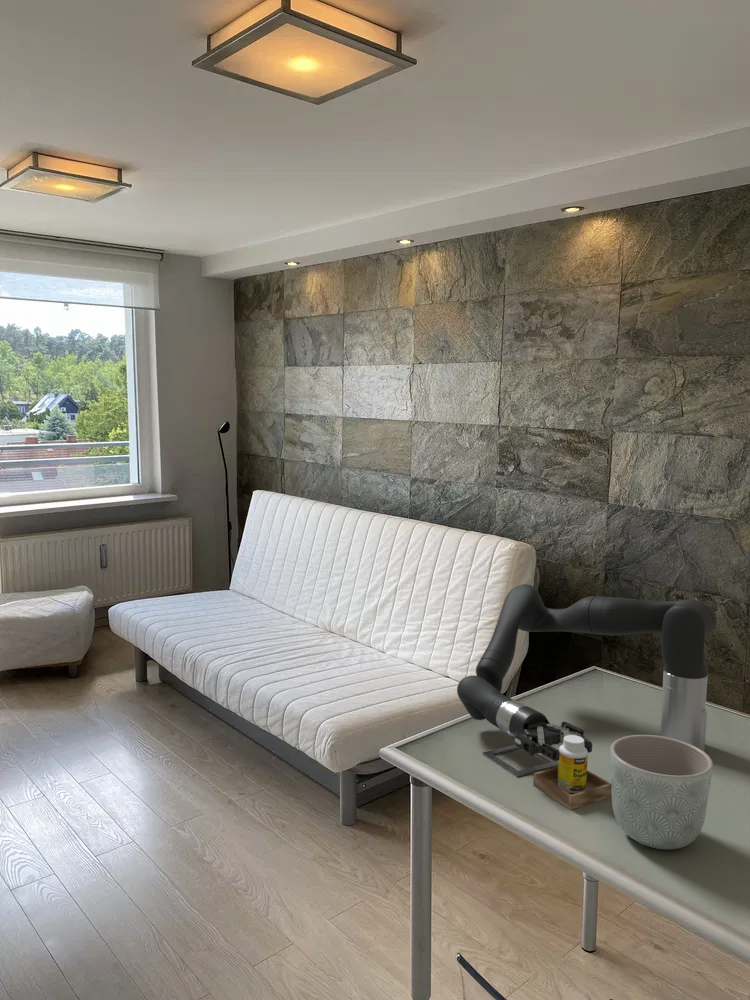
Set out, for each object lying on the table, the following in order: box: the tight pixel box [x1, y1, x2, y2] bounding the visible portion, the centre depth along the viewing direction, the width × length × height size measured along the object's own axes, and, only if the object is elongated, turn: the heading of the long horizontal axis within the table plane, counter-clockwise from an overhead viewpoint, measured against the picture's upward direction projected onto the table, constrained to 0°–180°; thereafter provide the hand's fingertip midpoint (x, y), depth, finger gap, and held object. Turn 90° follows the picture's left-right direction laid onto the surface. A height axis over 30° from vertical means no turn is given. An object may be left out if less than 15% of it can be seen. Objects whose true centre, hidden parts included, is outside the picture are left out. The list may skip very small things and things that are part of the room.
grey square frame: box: [482, 744, 558, 778], centre depth 166 cm, size 12×12×1 cm
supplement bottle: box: [557, 735, 589, 794], centre depth 152 cm, size 6×6×10 cm
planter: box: [610, 734, 714, 851], centre depth 136 cm, size 17×17×15 cm
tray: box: [532, 766, 612, 810], centre depth 152 cm, size 11×11×3 cm
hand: (574, 752), depth 151 cm, fingers open, 8 cm apart
